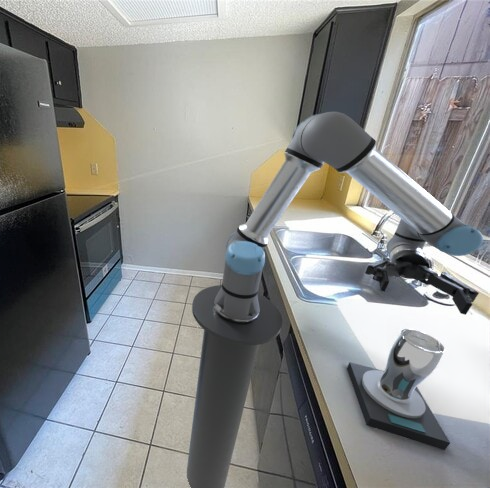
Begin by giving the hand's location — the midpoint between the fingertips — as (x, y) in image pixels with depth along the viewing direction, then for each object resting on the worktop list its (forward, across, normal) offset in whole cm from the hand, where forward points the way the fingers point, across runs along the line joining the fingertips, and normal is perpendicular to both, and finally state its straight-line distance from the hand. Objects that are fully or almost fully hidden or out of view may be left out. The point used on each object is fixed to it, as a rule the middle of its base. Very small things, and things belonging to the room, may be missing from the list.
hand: (423, 297), depth 57 cm
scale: (+10, 0, -23) cm, 25 cm away
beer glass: (+10, 0, -20) cm, 22 cm away
